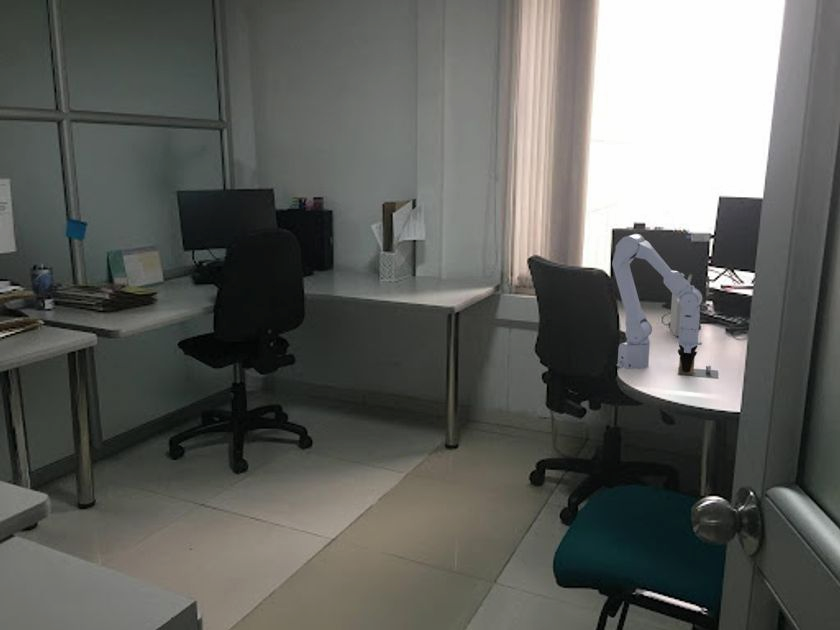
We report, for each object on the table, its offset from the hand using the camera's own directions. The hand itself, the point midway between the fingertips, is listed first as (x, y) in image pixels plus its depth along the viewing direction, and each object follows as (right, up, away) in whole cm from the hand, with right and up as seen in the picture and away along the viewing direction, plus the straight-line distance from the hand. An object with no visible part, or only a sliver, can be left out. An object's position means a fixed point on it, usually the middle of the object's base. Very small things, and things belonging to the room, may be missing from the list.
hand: (686, 369), depth 228 cm
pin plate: (+3, -2, -1) cm, 4 cm away
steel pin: (+6, -2, -2) cm, 7 cm away
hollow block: (0, -1, 0) cm, 1 cm away
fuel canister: (+17, +10, +52) cm, 56 cm away
